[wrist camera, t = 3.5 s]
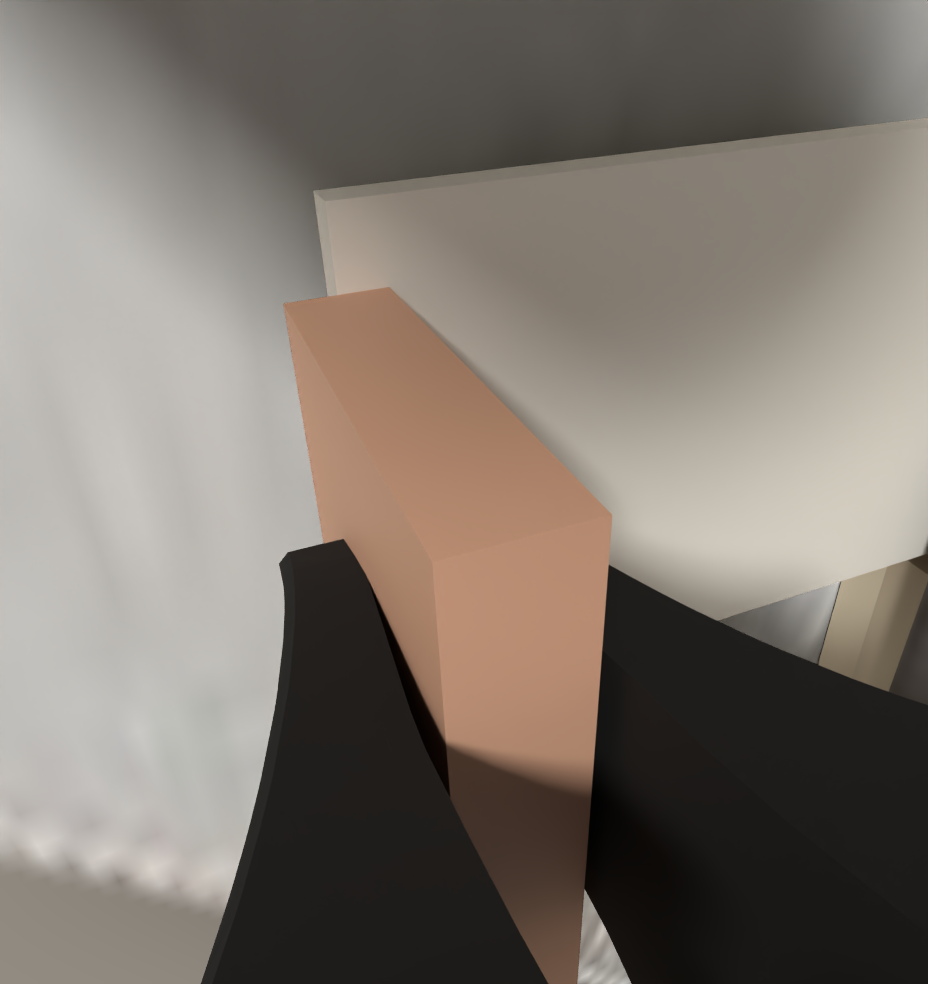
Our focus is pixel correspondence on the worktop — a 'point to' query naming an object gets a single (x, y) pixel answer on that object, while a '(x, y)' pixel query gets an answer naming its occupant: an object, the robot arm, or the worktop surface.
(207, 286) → the worktop surface
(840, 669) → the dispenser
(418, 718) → the beige angled piece
